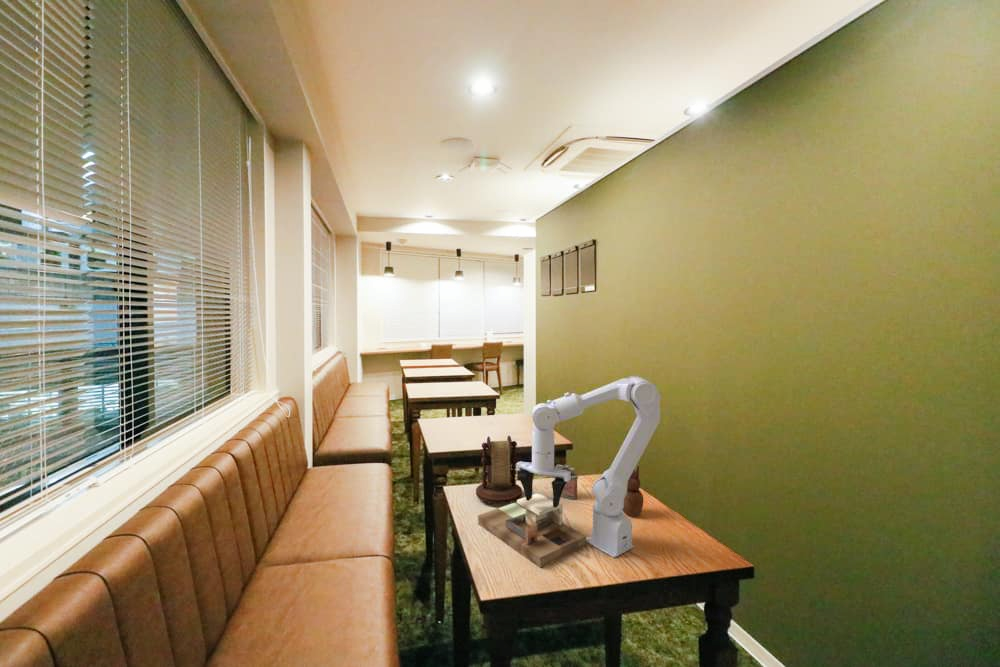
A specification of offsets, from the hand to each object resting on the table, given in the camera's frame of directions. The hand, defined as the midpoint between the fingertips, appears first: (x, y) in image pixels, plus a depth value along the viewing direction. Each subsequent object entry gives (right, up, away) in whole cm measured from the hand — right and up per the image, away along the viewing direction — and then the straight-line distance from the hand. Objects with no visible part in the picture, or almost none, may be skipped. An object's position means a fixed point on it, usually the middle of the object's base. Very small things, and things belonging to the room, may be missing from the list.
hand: (542, 502), depth 110 cm
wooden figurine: (+28, -10, +16) cm, 34 cm away
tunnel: (-3, -10, +4) cm, 11 cm away
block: (-1, -8, +5) cm, 9 cm away
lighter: (+10, -9, +28) cm, 31 cm away
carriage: (-3, -7, +1) cm, 8 cm away
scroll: (-11, -9, +26) cm, 30 cm away
